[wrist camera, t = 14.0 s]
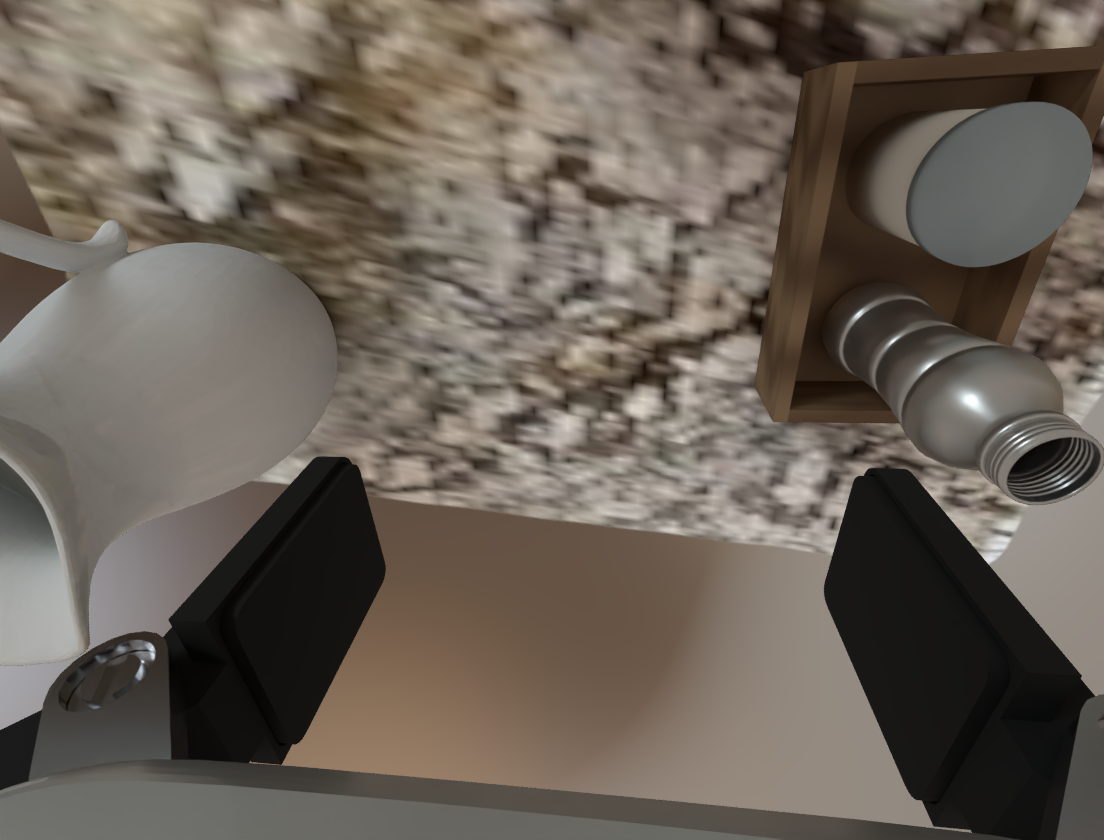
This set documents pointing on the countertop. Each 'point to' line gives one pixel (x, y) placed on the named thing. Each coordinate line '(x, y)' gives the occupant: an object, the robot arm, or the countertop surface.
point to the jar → (972, 179)
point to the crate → (876, 256)
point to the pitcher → (138, 408)
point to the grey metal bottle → (963, 394)
